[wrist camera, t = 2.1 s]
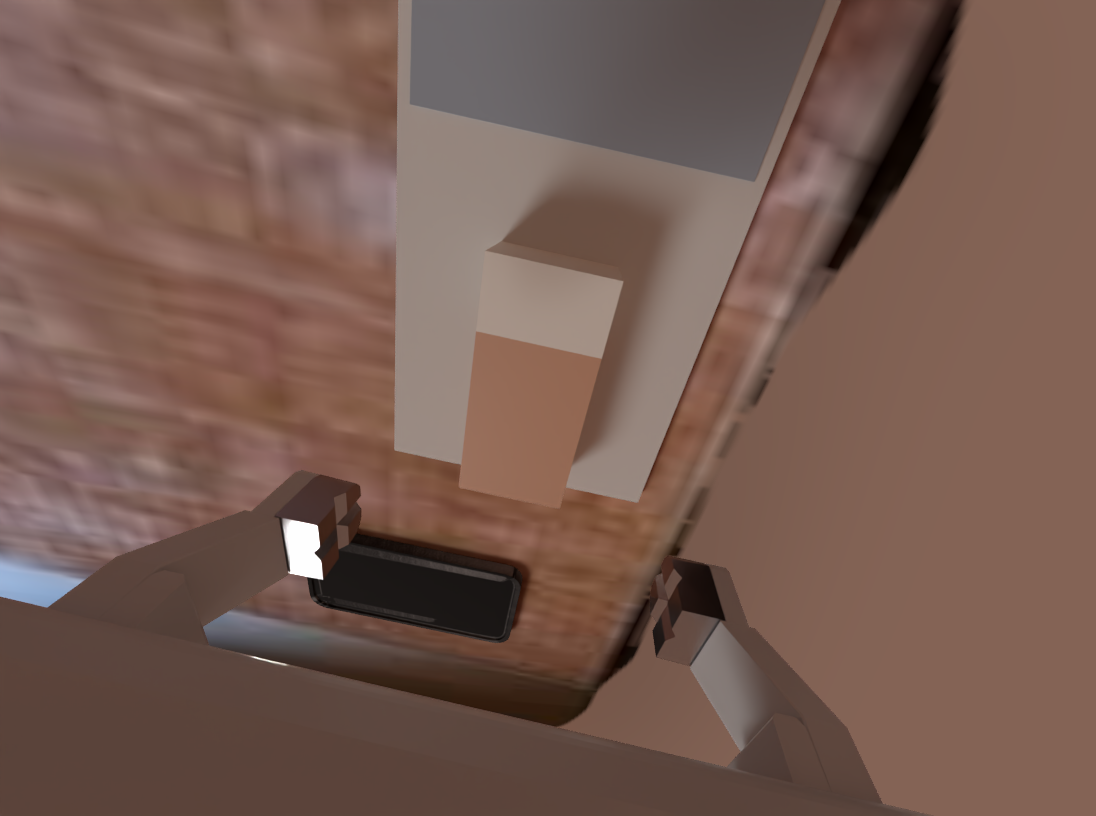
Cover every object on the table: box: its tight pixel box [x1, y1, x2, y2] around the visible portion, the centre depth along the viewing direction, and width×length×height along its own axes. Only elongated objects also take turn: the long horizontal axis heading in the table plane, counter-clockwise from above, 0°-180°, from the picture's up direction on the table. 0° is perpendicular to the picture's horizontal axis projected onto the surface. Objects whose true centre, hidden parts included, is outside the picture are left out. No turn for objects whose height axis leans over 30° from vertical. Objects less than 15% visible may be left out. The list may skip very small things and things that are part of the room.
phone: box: [307, 534, 522, 643], centre depth 29 cm, size 8×1×15 cm
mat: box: [394, 0, 841, 503], centre depth 17 cm, size 14×26×1 cm, turn 169°
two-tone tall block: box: [459, 241, 623, 509], centre depth 18 cm, size 11×5×3 cm, turn 169°
